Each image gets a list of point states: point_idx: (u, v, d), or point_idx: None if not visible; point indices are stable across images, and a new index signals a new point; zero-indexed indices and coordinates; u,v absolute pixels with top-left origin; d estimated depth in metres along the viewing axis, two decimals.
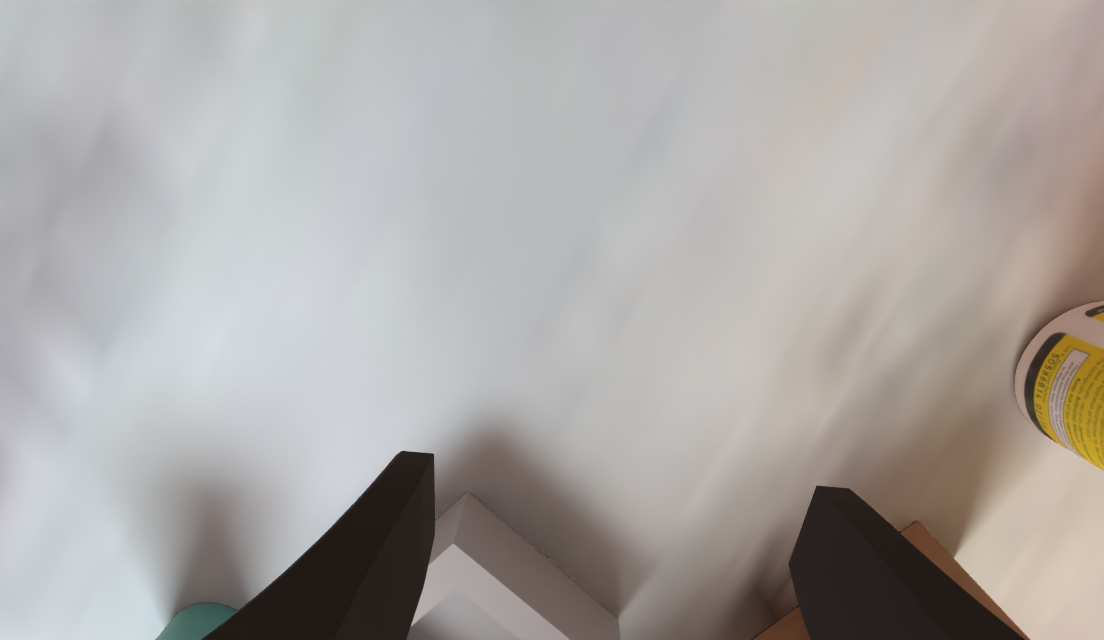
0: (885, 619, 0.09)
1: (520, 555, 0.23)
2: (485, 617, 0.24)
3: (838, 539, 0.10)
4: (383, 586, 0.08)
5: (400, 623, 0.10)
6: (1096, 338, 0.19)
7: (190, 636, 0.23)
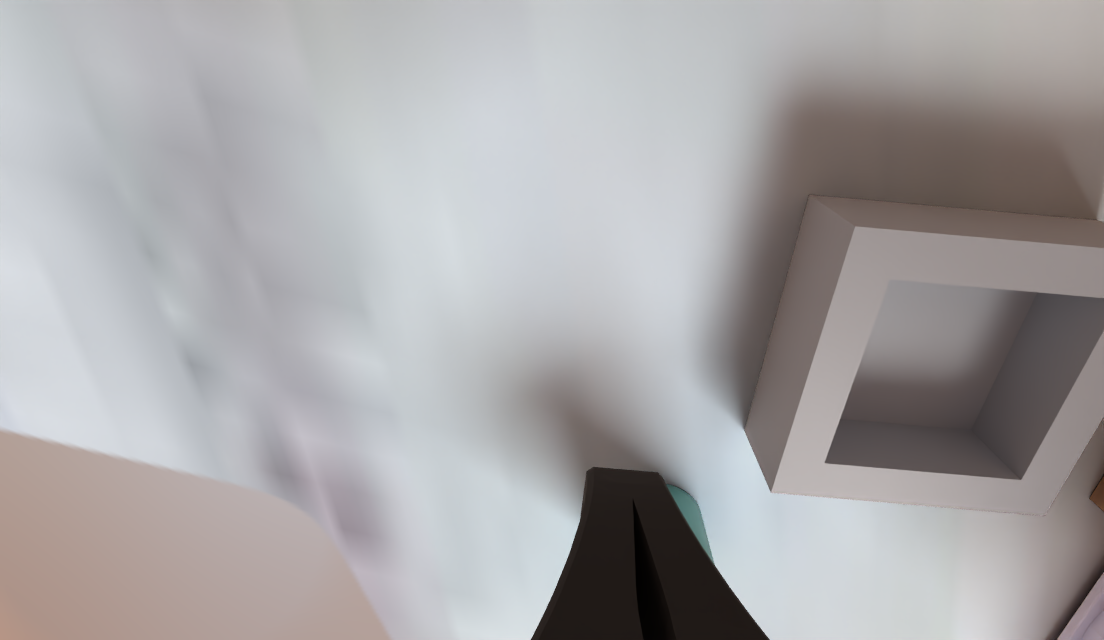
0: (646, 599, 0.09)
1: (930, 213, 0.17)
2: (923, 321, 0.18)
3: None
4: None
5: None
6: None
7: None
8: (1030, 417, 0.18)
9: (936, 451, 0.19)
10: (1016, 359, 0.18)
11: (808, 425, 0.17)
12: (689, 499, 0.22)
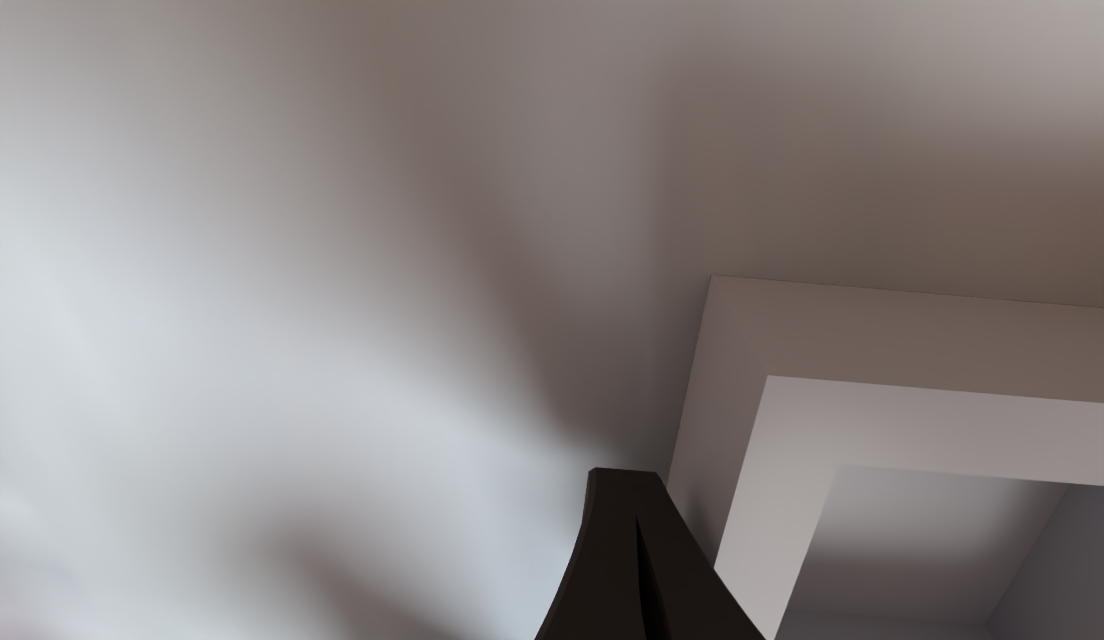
0: (643, 599, 0.09)
1: (917, 321, 0.09)
2: (908, 479, 0.11)
3: None
4: None
5: None
6: None
7: None
8: None
9: None
10: (1060, 540, 0.11)
11: None
12: None
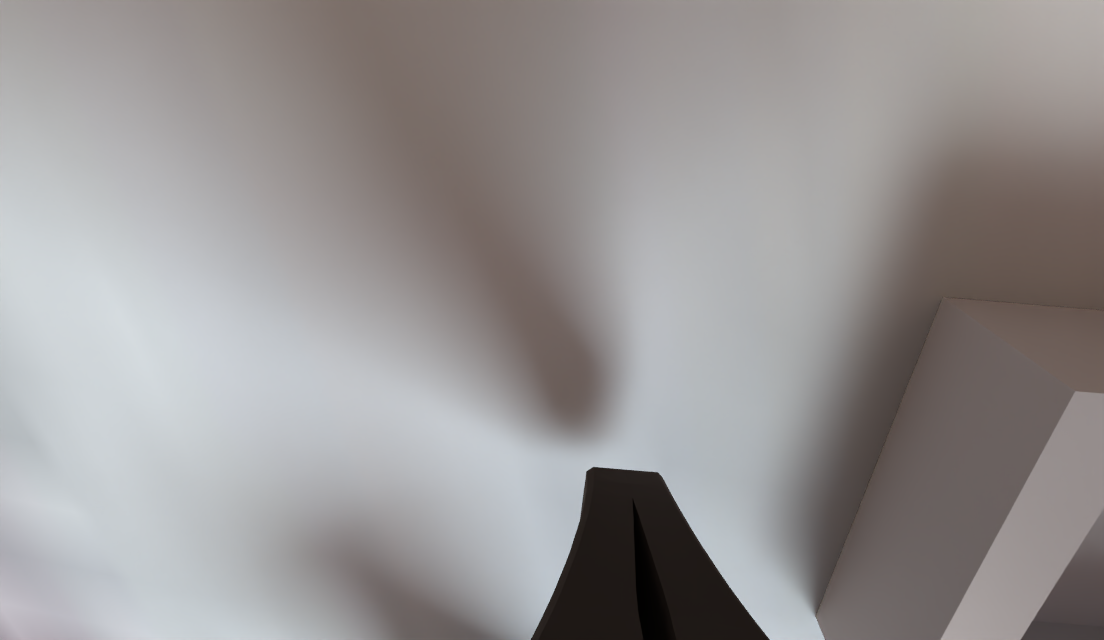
0: (646, 600, 0.09)
1: None
2: None
3: None
4: None
5: None
6: None
7: None
8: None
9: None
10: None
11: None
12: None
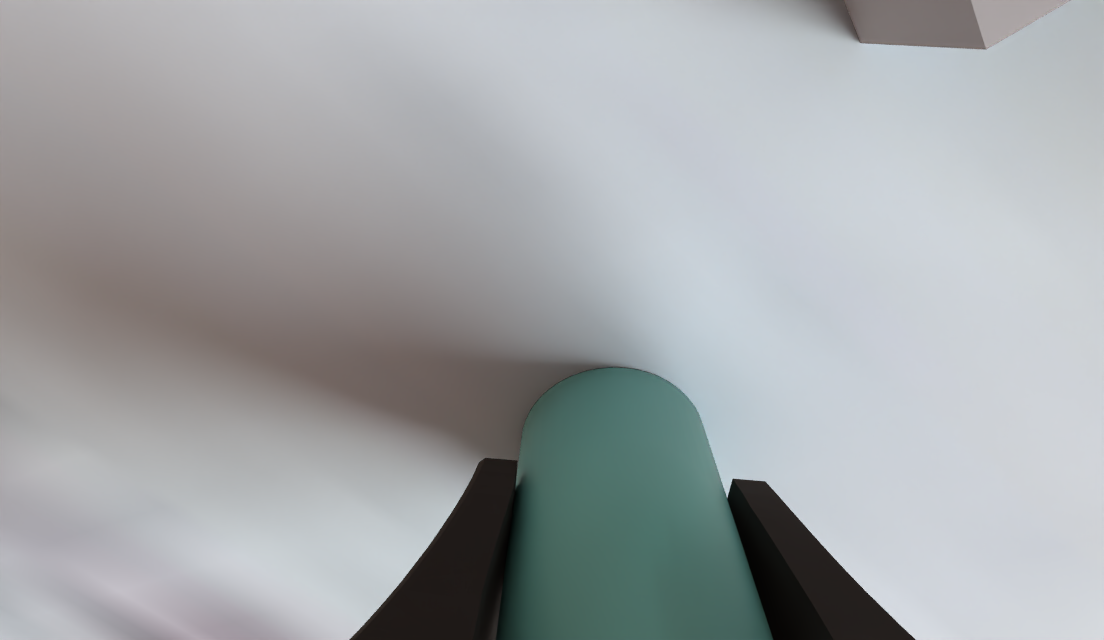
0: (780, 611, 0.09)
1: None
2: None
3: (746, 532, 0.10)
4: (490, 595, 0.08)
5: (494, 631, 0.10)
6: None
7: (520, 472, 0.11)
8: None
9: None
10: None
11: None
12: (625, 375, 0.12)
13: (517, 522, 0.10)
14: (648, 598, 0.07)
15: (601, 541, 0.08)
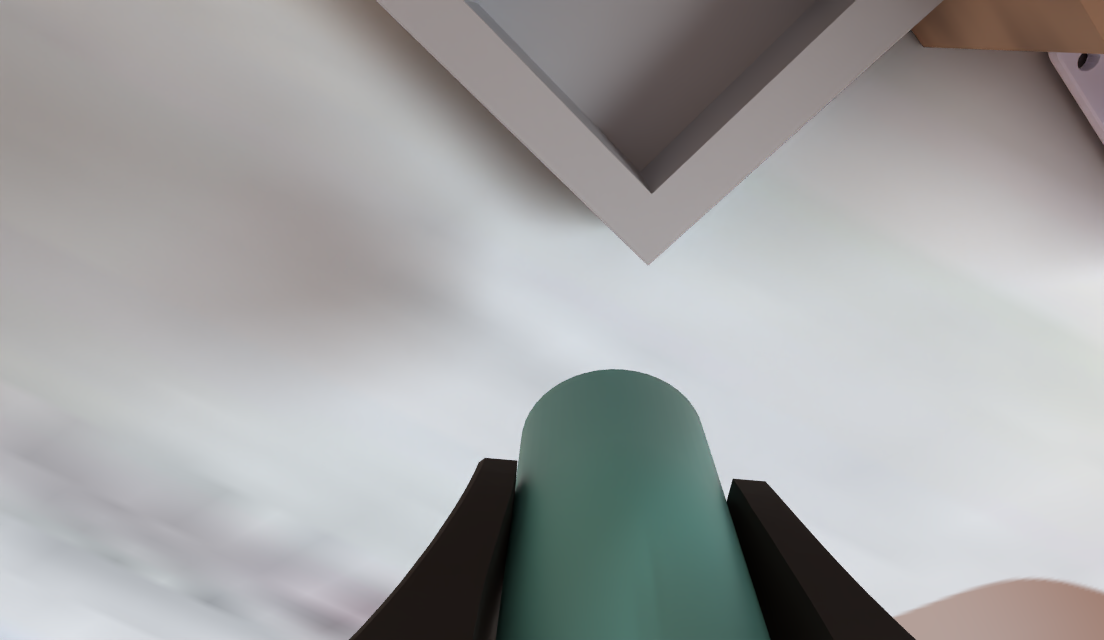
0: (780, 611, 0.09)
1: None
2: None
3: (747, 532, 0.10)
4: (489, 595, 0.08)
5: (493, 631, 0.10)
6: None
7: (519, 475, 0.11)
8: None
9: (773, 61, 0.14)
10: None
11: (587, 181, 0.14)
12: (624, 378, 0.12)
13: (516, 525, 0.10)
14: (645, 603, 0.07)
15: (599, 544, 0.08)
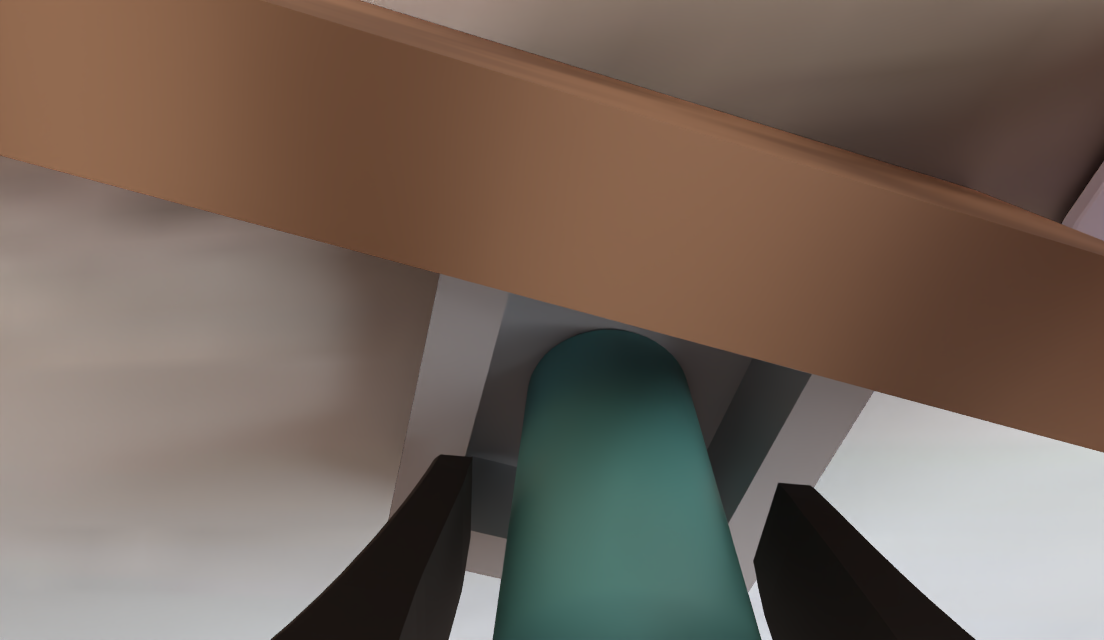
0: (837, 615, 0.09)
1: None
2: None
3: (796, 536, 0.10)
4: (432, 590, 0.08)
5: (443, 627, 0.10)
6: None
7: (525, 420, 0.13)
8: None
9: (753, 421, 0.13)
10: None
11: None
12: (615, 336, 0.13)
13: (522, 457, 0.12)
14: (624, 502, 0.09)
15: (588, 463, 0.10)
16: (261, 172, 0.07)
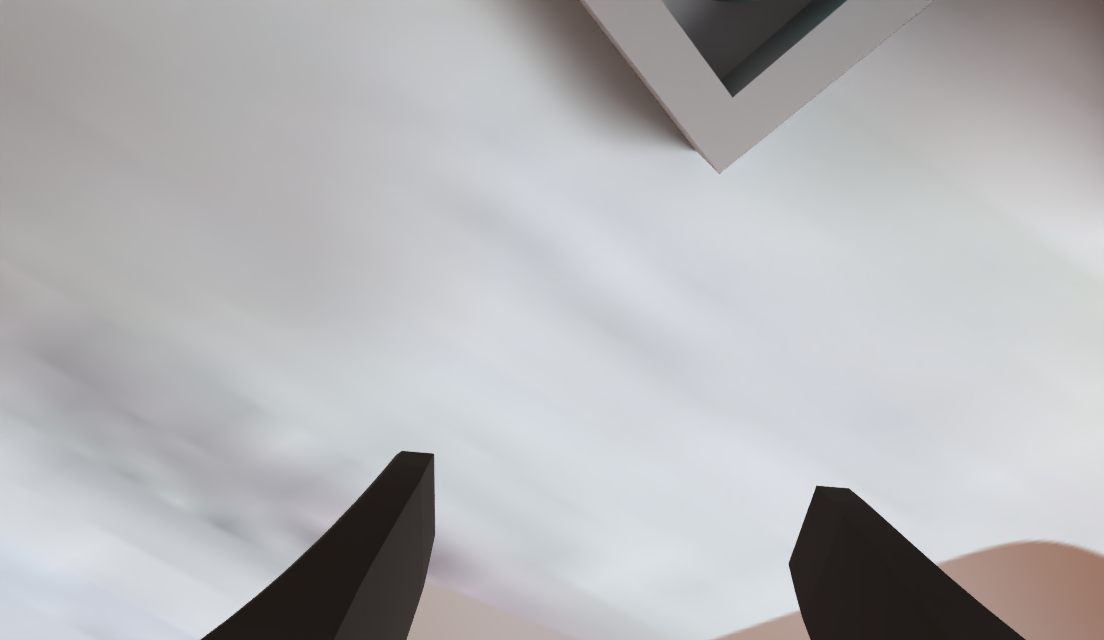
0: (885, 619, 0.09)
1: None
2: None
3: (838, 539, 0.10)
4: (383, 586, 0.08)
5: (400, 623, 0.10)
6: None
7: None
8: None
9: None
10: None
11: (670, 79, 0.14)
12: None
13: None
14: None
15: None
16: None
